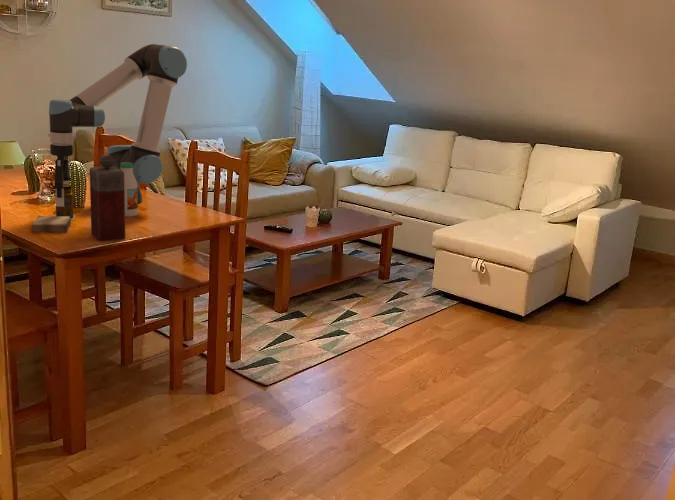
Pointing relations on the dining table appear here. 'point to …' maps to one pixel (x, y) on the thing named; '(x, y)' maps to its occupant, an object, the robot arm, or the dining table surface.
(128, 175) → the milk bottle
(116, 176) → the square decanter
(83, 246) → the dining table surface
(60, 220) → the stand
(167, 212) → the dining table surface
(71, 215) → the condiment
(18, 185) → the dining table surface
